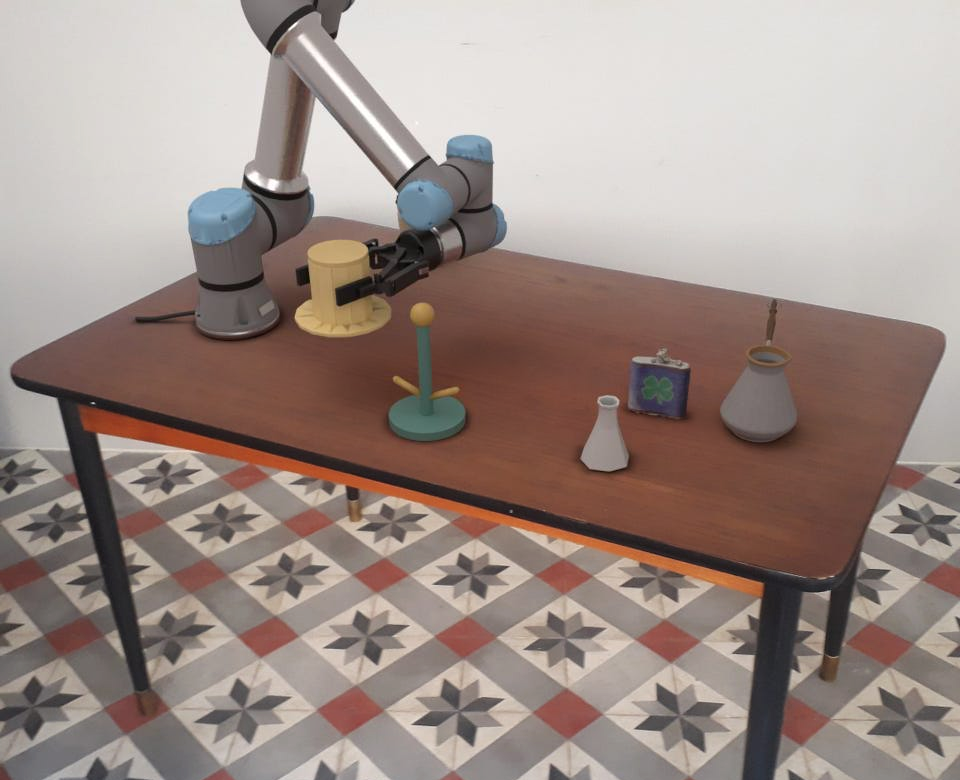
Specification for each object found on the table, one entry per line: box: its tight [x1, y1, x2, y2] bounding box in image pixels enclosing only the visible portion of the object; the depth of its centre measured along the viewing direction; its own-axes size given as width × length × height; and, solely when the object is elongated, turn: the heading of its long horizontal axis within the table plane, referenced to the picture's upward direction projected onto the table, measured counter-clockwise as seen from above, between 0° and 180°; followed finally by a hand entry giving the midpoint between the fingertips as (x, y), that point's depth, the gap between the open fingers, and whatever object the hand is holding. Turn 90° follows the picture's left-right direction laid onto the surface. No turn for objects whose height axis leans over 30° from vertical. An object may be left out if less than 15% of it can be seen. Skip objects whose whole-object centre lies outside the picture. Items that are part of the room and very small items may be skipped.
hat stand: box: [388, 301, 467, 442], centre depth 158 cm, size 12×12×20 cm
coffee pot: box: [719, 299, 798, 443], centre depth 160 cm, size 21×12×15 cm, turn 164°
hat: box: [294, 239, 392, 338], centre depth 162 cm, size 15×15×11 cm
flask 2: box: [627, 348, 692, 420], centre depth 162 cm, size 9×3×11 cm, turn 71°
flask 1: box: [580, 394, 630, 472], centre depth 151 cm, size 7×7×10 cm
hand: (317, 287), depth 159 cm, fingers closed on hat, 9 cm apart
